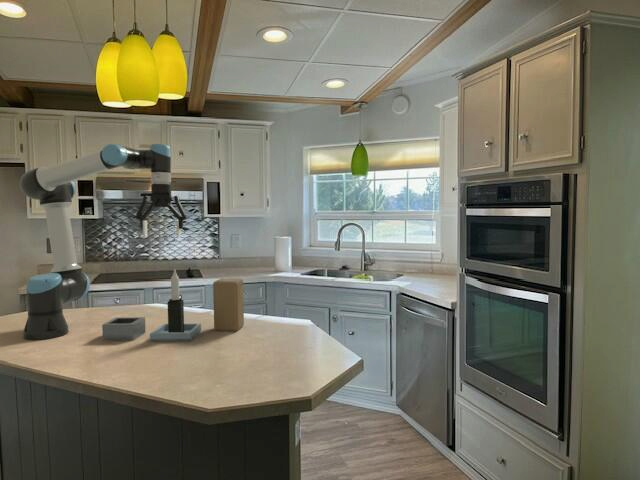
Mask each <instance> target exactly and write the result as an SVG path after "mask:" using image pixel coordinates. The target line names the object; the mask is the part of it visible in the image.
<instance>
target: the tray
mask: <svg viewBox="0 0 640 480" xmlns="http://www.w3.org/2000/svg"><path fill="white" fill-rule="evenodd" d="M201 332H202V323H201V322H199V323H197V322H196V323H192V322H191V323H190V322H189V323H187V322H186V323H185V322H184V332H177V333H168V323H163V324H161V325H159V326H158V327H157V328H156V329H154V330H153V331H151V332H150V333H149V342H151V343H153V342H156V343H157V342H192V340H194V339H195V338H196V337H197V336H198V335H199V334H200V333H201Z"/></svg>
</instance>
